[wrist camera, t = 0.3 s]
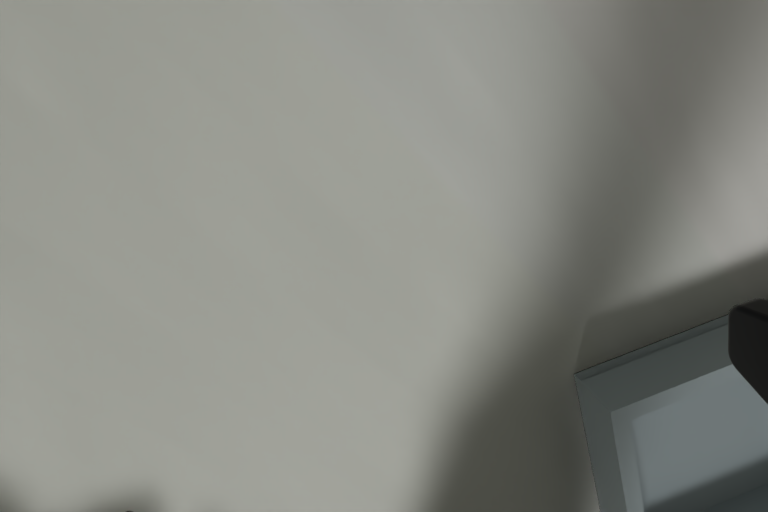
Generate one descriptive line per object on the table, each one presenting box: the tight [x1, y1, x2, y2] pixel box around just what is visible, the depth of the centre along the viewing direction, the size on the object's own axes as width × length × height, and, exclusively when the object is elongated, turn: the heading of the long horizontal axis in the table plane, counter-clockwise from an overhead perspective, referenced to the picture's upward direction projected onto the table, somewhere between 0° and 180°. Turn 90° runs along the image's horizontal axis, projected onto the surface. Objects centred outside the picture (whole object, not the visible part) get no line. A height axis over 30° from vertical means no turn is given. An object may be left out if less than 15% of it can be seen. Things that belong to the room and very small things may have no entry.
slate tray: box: [574, 315, 768, 512], centre depth 29 cm, size 12×12×3 cm
